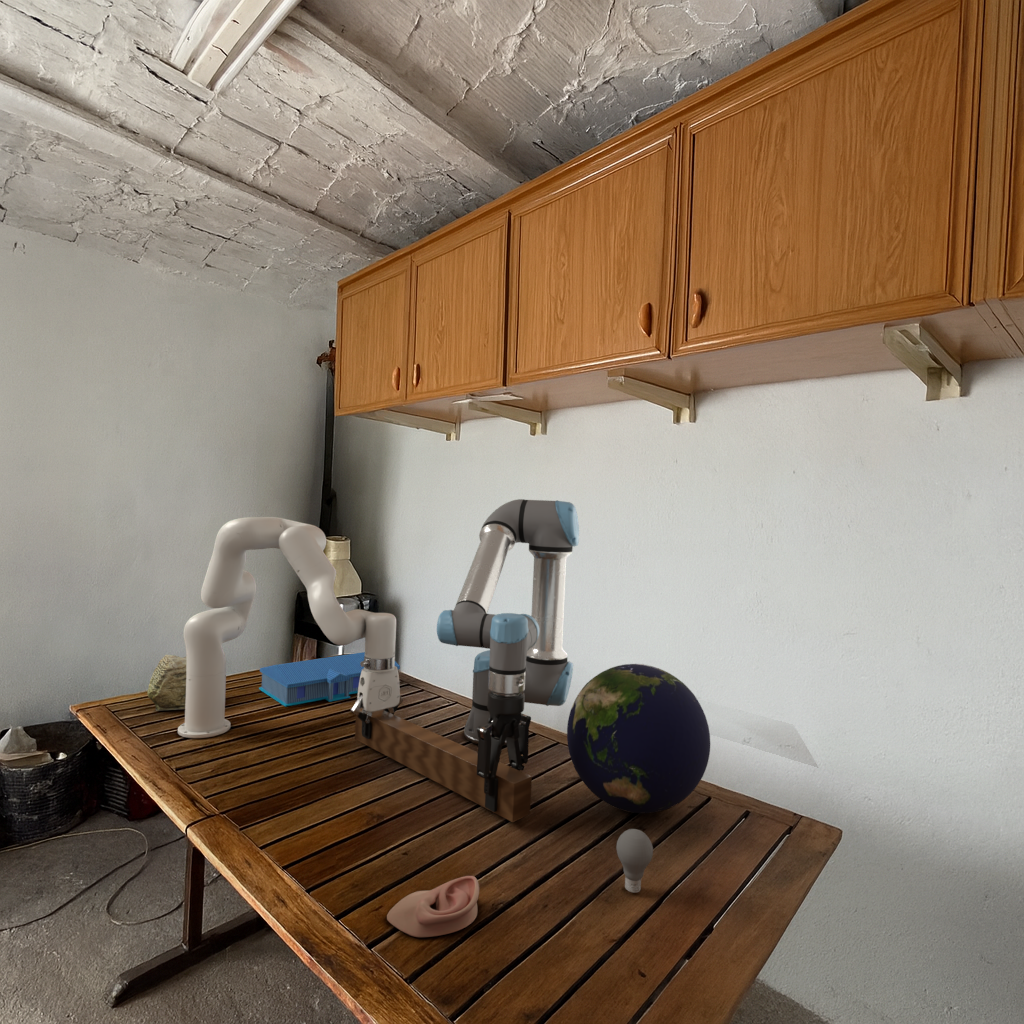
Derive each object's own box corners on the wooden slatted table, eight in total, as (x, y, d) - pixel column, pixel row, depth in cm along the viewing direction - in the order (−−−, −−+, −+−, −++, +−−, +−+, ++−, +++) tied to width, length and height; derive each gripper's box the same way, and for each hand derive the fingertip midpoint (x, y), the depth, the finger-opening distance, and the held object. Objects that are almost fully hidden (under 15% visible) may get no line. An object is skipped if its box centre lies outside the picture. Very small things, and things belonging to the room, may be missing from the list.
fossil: (144, 707, 182) (145, 655, 182) (212, 696, 194) (213, 647, 194) (151, 716, 175) (153, 662, 175) (221, 703, 188) (223, 653, 188)
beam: (354, 739, 162) (355, 709, 162) (371, 734, 165) (372, 705, 165) (512, 822, 123) (514, 783, 123) (530, 813, 127) (531, 776, 127)
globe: (544, 820, 127) (551, 672, 127) (585, 765, 155) (590, 643, 155) (698, 858, 116) (706, 696, 116) (712, 791, 144) (719, 660, 143)
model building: (289, 709, 186) (291, 675, 185) (258, 688, 204) (259, 657, 204) (403, 687, 212) (405, 657, 212) (366, 670, 230) (368, 643, 230)
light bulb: (610, 879, 108) (613, 822, 108) (644, 879, 109) (647, 822, 109) (619, 902, 102) (622, 840, 102) (655, 901, 103) (658, 840, 103)
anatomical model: (379, 903, 93) (407, 860, 104) (378, 930, 93) (406, 884, 105) (466, 919, 91) (485, 873, 102) (464, 947, 91) (484, 898, 102)
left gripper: (358, 671, 150) (355, 747, 151) (415, 660, 163) (412, 730, 163) (341, 665, 156) (338, 738, 156) (398, 654, 168) (395, 722, 168)
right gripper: (487, 704, 119) (481, 826, 120) (549, 687, 133) (544, 797, 133) (460, 695, 125) (455, 812, 125) (523, 679, 138) (518, 785, 138)
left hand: (376, 733), depth 160 cm, fingers closed on beam, 5 cm apart
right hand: (501, 804), depth 129 cm, fingers closed on beam, 5 cm apart
